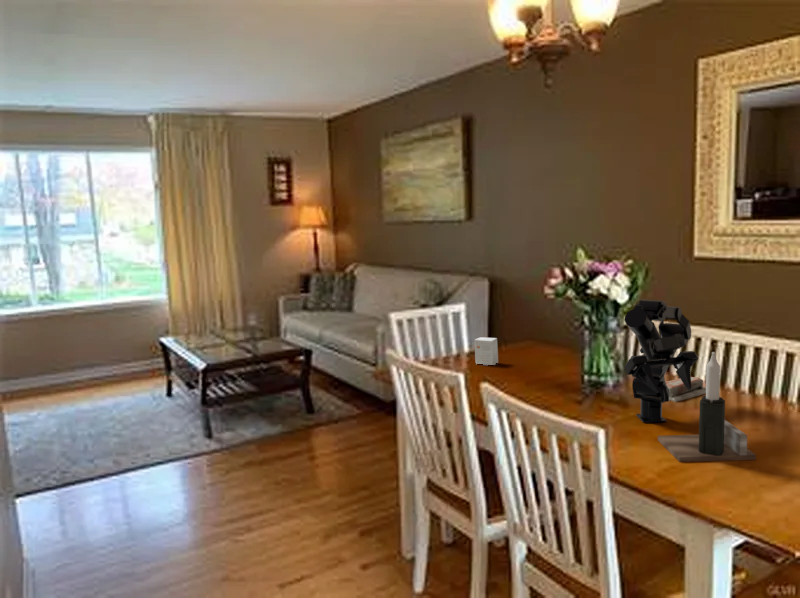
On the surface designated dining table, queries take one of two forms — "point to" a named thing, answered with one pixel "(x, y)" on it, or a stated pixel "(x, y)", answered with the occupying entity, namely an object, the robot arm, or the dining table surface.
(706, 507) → the dining table surface
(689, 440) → the shelf board
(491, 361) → the small box
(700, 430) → the candle
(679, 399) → the packaged product
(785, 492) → the dining table surface
